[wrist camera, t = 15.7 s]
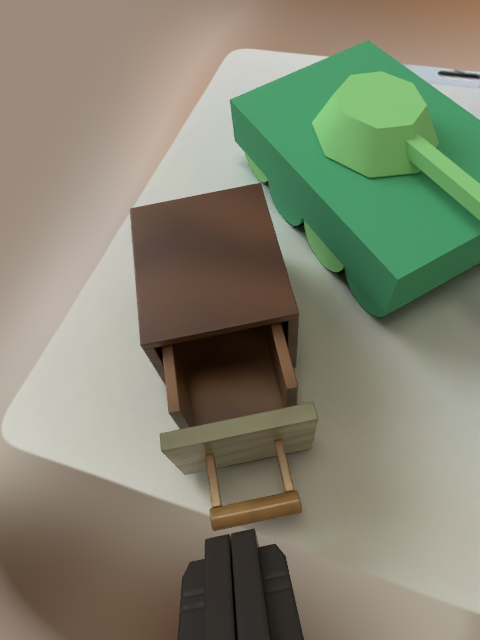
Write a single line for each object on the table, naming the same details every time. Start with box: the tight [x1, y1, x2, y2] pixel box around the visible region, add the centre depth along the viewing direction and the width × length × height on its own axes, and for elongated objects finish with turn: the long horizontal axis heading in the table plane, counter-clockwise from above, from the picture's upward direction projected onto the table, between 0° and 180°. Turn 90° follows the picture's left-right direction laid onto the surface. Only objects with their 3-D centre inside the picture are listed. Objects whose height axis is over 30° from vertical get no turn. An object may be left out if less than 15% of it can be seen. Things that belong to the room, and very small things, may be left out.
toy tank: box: [230, 41, 480, 317], centre depth 42 cm, size 18×12×35 cm
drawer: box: [160, 322, 318, 531], centre depth 34 cm, size 17×10×8 cm, turn 10°
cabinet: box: [130, 183, 299, 385], centre depth 39 cm, size 14×12×10 cm
